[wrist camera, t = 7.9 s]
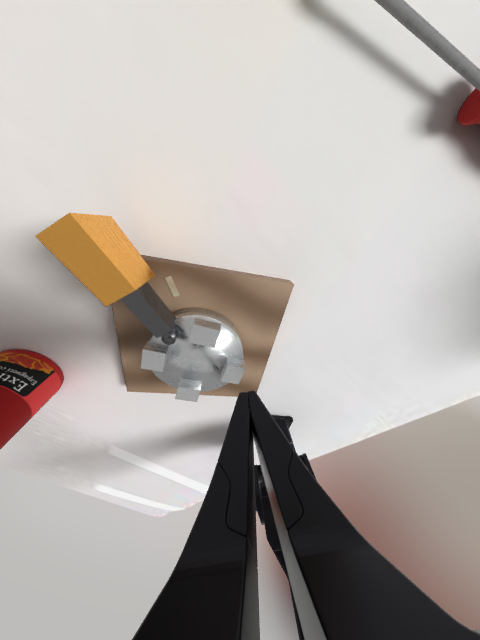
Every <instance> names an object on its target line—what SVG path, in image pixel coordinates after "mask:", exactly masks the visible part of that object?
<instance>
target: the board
mask: <svg viewBox="0 0 480 640" xmlns="http://www.w3.org/2000/svg"><path fill="white" fill-rule="evenodd" d="M141 257H142V258H143V259H144V261H145V262H146V263H147V265H148V266H149V267H150V269H151V270H152V271H153V273H154V274H155V276H154V277H153V278H151V279H150V280H149V281H147V282H148V283H149V285H150V286H151V287H152V288H153V290H154V291H155V292H156V293H157V295H158V296H159V297H160V298H161V300H162V301H163V302H164V303H165V305H166V306H167V307H168V308H169V310H170V311H171V312H172V313H175V312H178V311H180V310H184V309H190V308H203V309H208V310H212V311H215V312H217V313H220V314H222V315H223V316H225V317H226V318H228V319H229V320H230V321H231V322H232V323H233V324H234V325H235V327H236V328H237V330H238V332H239V334H240V337H241V342H242V348H243V355H244V359H243V361H245V366H246V370H245V372H244V374H243V376H242V378H241V380H240V383H239V384H233V383H228V384H226V385H224V386H222V387H220V388H217V389H214V390H211V391H205V392H200V393H199V395H215V396H236V397H238V395H239V393H240V392H248V391H253V390H254V391H255V392H256V393H257V390H258V387H259V384H260V381H261V379H262V376H263V373H264V370H265V367H266V364H267V361H268V358H269V355H270V353H271V350H272V347H273V344H274V341H275V338H276V335H277V332H278V329H279V326H280V324H281V321H282V318H283V315H284V312H285V309H286V306H287V303H288V300H289V298H290V295H291V292H292V289H293V286H294V284H293V283H292V282H291V281H289V280H284V279H278V278H273V277H267V276H261V275H255V274H249V273H244V272H238V271H232V270H226V269H220V268H215V267H209V266H203V265H197V264H191V263H186V262H180V261H174V260H168V259H162V258H157V257H151V256H145V255H141ZM112 309H113V314H114V320H115V325H116V331H117V337H118V342H119V348H120V354H121V359H122V365H123V370H124V376H125V382H126V387H127V391H129V392H150V393H172V394H176V393H177V389H176V388H174V387H171V386H169V385H167V384H166V383H164V382H163V381H161V380H160V379H159V378H158V377H157V376H156V375H155V374H154V373H153V372H152V370H148V369H142V368H141V361H142V350H143V348H144V346H145V345H146V343H147V342H149V341H150V340H151V338H152V337H153V334H152V333H151V332H150V331H149V330H148V329H147V328H146V326H145V325H144V324H143V323H142V322H141V321H140V320H139V319H138V318H137V317H136V316H135V315H134V314H133V313H132V311H131V310H130V309H129V308H128V307H127V306H126V305H125V304H124V303H123V302H122V301H121V300H120V299H119V300H117V301H115V302H114V303H112ZM247 396H248V395H247Z"/></svg>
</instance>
